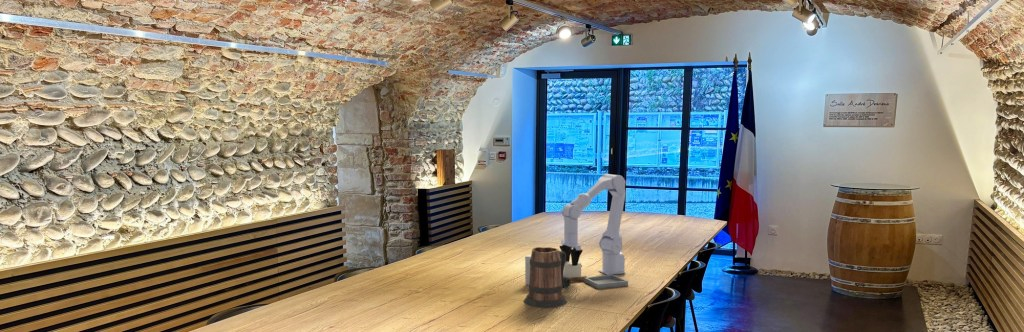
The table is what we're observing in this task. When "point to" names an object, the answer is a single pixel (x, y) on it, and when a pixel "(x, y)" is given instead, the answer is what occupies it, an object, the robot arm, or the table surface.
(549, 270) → the tankard
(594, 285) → the grey tray
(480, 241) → the table surface
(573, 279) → the walnut dock
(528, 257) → the skincare box
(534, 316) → the table surface
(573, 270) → the beige rectangular block
